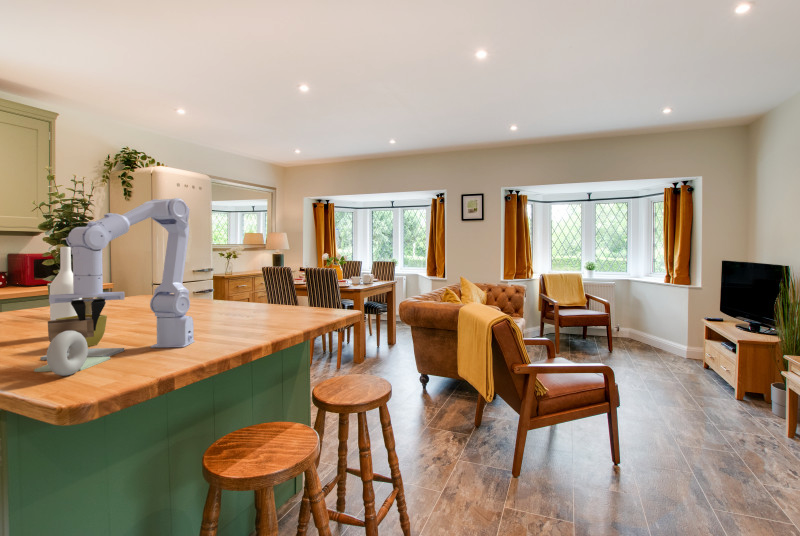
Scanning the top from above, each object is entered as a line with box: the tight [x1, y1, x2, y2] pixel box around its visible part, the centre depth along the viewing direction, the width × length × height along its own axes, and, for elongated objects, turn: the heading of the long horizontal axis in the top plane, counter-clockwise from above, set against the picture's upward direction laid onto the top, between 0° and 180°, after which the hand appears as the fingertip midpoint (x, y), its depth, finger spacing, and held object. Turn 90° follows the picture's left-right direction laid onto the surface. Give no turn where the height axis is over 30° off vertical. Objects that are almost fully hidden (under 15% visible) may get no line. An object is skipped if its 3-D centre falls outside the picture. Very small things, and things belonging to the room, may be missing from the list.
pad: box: [33, 356, 111, 373], centre depth 98 cm, size 10×11×1 cm
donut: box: [46, 331, 89, 377], centre depth 90 cm, size 10×4×10 cm, turn 5°
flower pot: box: [56, 313, 108, 348], centre depth 119 cm, size 9×9×9 cm
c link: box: [47, 317, 94, 343], centre depth 96 cm, size 8×9×4 cm
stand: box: [39, 347, 125, 361], centre depth 108 cm, size 15×10×4 cm, turn 95°
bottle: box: [49, 246, 83, 321], centre depth 132 cm, size 8×8×30 cm
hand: (88, 330), depth 99 cm, fingers closed on c link
